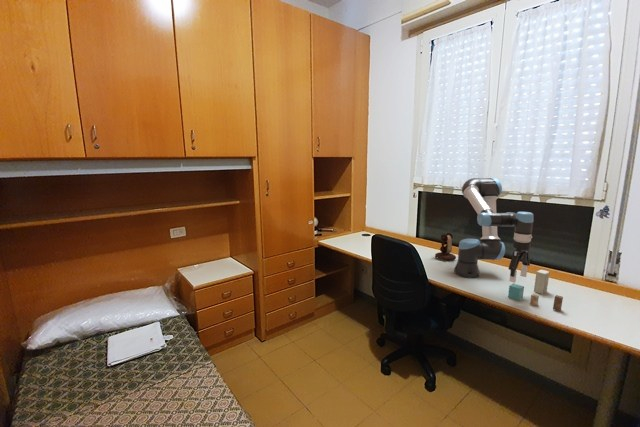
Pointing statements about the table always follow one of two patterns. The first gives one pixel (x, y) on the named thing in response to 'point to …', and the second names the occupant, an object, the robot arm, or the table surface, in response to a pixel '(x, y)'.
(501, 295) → the table surface
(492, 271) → the table surface
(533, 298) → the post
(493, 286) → the table surface
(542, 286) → the skincare box
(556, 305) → the post
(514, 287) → the teal block
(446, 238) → the brown statuette
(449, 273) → the table surface
